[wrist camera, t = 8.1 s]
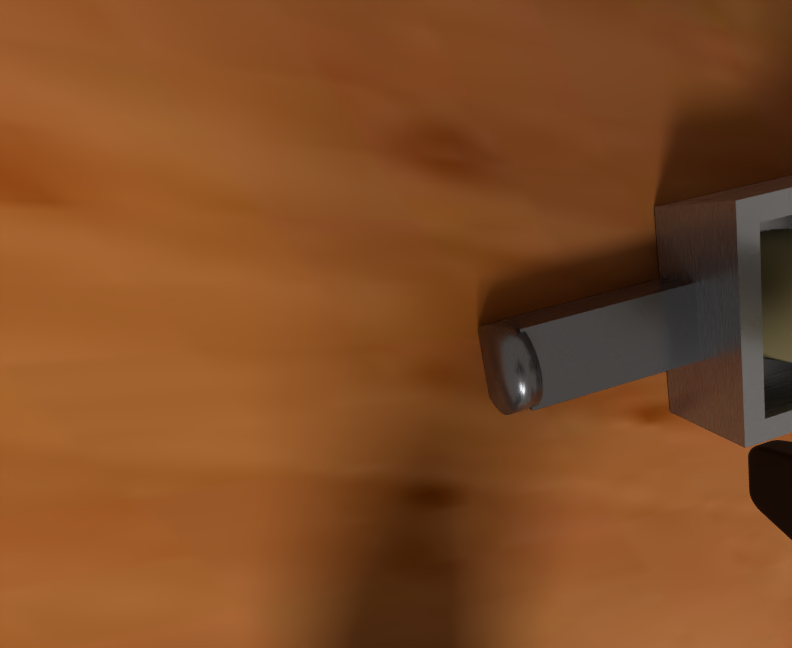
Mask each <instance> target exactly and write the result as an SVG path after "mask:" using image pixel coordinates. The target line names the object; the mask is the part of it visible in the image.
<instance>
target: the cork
mask: <svg viewBox="0 0 792 648" xmlns="http://www.w3.org/2000/svg"><path fill="white" fill-rule="evenodd" d="M760 255H761V292H762V329H763V359H770V360H777V361H784V362H792V229H771V230H769V231H766V232H764V233H762V234H760Z"/></svg>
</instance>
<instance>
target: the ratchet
mask: <svg viewBox="0 0 792 648" xmlns="http://www.w3.org/2000/svg"><path fill="white" fill-rule="evenodd" d="M654 211H655V224H656V236H657V249H658V262H659V275H660V278H659V279H655V280H652V281H648V282H644V283H640V284H636V285H632V286H629V287H625V288H621V289H617V290H613V291H609V292H606V293H602V294H598V295H594V296H590V297H586V298H583V299H579V300H575V301H571V302H567V303H563V304H559V305H556V306H552V307H548V308H544V309H540V310H536V311H533V312H529V313H525V314H521V315H517V316H513V317H510V318H506V319H502V320H499V322H496V323H492V324H488V325H484V326H481V327H479V328H478V334H479V340H480V346H481V352H482V357H483V363H484V369H485V375H486V380H487V386H488V392H489V397H490V399H491V400H492V402H493V404H494V405H495V406H496V408H497V409H498V410H499V411H500V412H501V413H503V414H505V415H509V414H512V413H516V412H519V411H523V410H526V409H529V408H530V409H531V410H532V411H533V410H536V409H540V408H543V407H546V406H550V405H553V404H557V403H560V402H563V401H567V400H570V399H573V398H577V397H580V396H584V395H587V394H590V393H594V392H597V391H600V390H604V389H607V388H611V387H614V386H617V385H621V384H624V383H627V382H631V381H634V380H638V379H641V378H644V377H648V376H651V375H654V374H658V373H661V372H665V371H667V378H668V391H669V404H670V412H671V413H673V414H675V415H677V416H680V417H682V418H684V419H686V420H688V421H690V422H692V423H694V424H696V425H698V426H700V427H703V428H705V429H707V430H709V431H711V432H713V433H715V434H717V435H719V436H721V437H723V438H726V439H728V440H730V441H732V442H734V443H736V444H738V445H740V446H742V447H744V448H746V447H749V446H752V445H755V444H758V443H761V442H764V441H767V440H770V439H773V438H776V437H779V436H782V435H785V434H788V433H791V432H792V362H784V361H777V360H770V359H763V329H762V292H761V255H760V234H762V233H764V232H766V231H769V230H771V229H792V175H790V176H785V177H781V178H777V179H773V180H768V181H764V182H760V183H755V184H751V185H747V186H742V187H738V188H734V189H730V190H725V191H721V192H717V193H712V194H708V195H704V196H699V197H695V198H691V199H686V200H682V201H678V202H674V203H669V204H665V205H661V206H656V207H654Z"/></svg>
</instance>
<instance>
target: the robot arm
mask: <svg viewBox="0 0 792 648" xmlns="http://www.w3.org/2000/svg"><path fill="white" fill-rule="evenodd" d="M748 468H749V492H750V496H751V499H752V501H753V503H754V504H755V506H756V507H757V508H758V509H759V510H760V511H761V512H762V513H763V514H764V515H765V516H766V517H767V518H768V519H769V520H771V521H772V522H773V523H774V524H775V525H776V526H777V527H778V528H779V529H780V530H781V531H783V532H784V533H785V534H786V535H787V536H788V537H789V538H790V539H791V540H792V442H789V441H782V440H774V441H770V442H767V443H764V444H761V445H758V446H755V447H753V448H752V449H751V450H750V452H749V454H748Z"/></svg>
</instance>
